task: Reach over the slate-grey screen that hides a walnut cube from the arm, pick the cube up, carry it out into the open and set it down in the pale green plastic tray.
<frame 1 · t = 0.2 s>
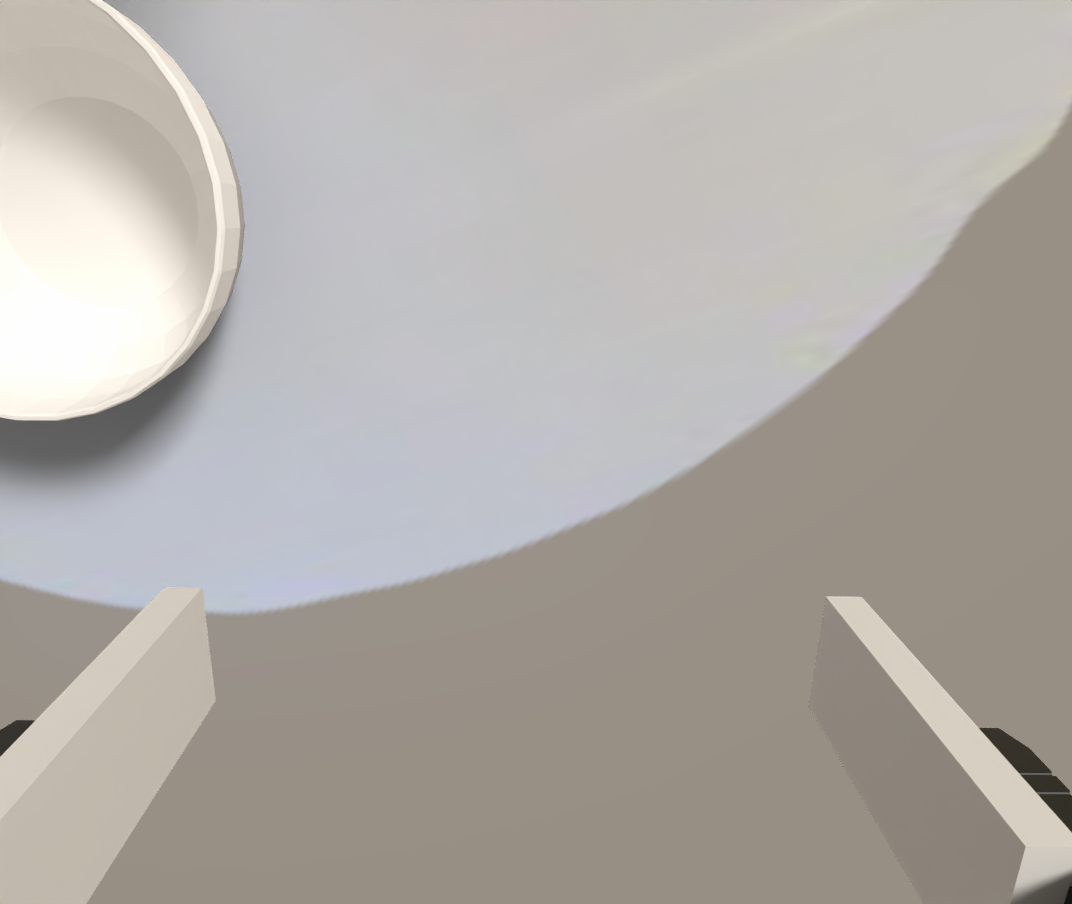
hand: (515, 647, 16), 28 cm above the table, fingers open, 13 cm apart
bowl: (107, 206, 40), on the table
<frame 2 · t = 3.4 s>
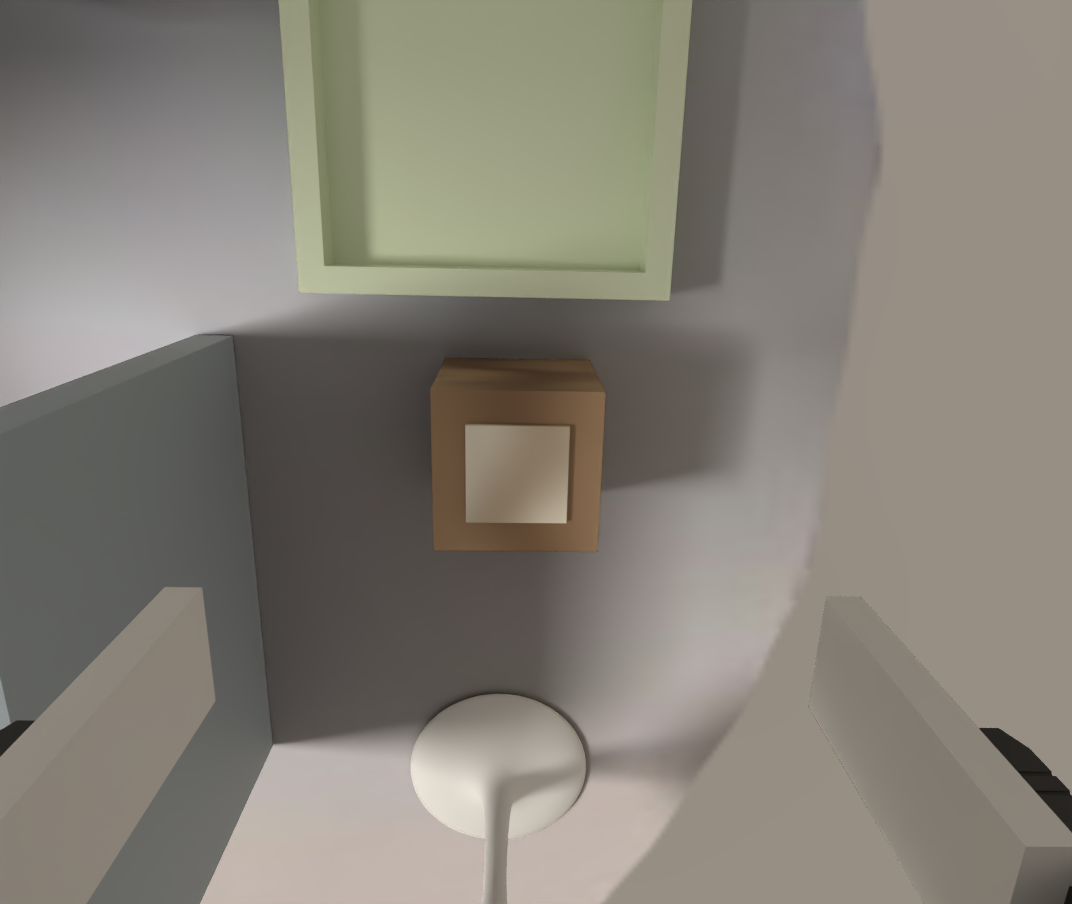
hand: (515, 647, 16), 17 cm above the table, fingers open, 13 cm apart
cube: (516, 427, 32), on the table
tray: (488, 102, 28), on the table
screen: (237, 558, 34), on the table
wineglass: (498, 763, 38), on the table
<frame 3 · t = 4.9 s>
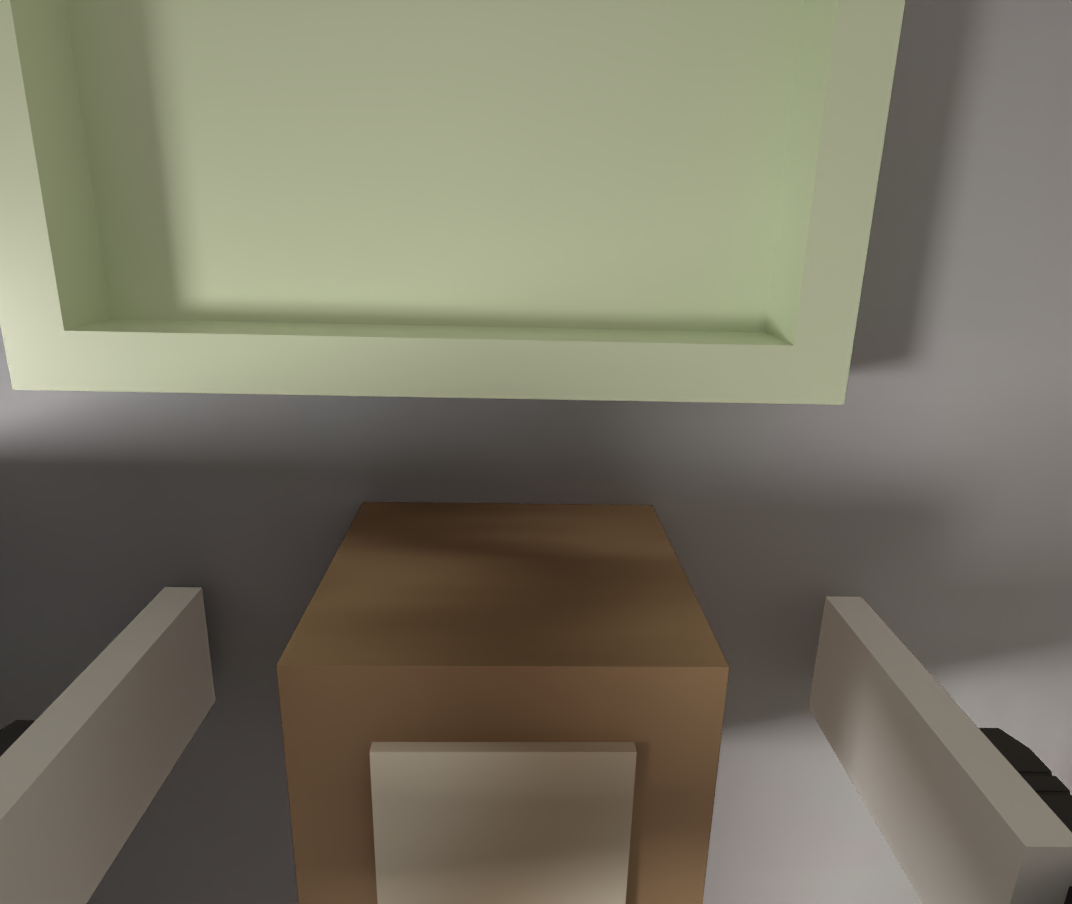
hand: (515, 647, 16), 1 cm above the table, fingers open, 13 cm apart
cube: (507, 628, 17), on the table
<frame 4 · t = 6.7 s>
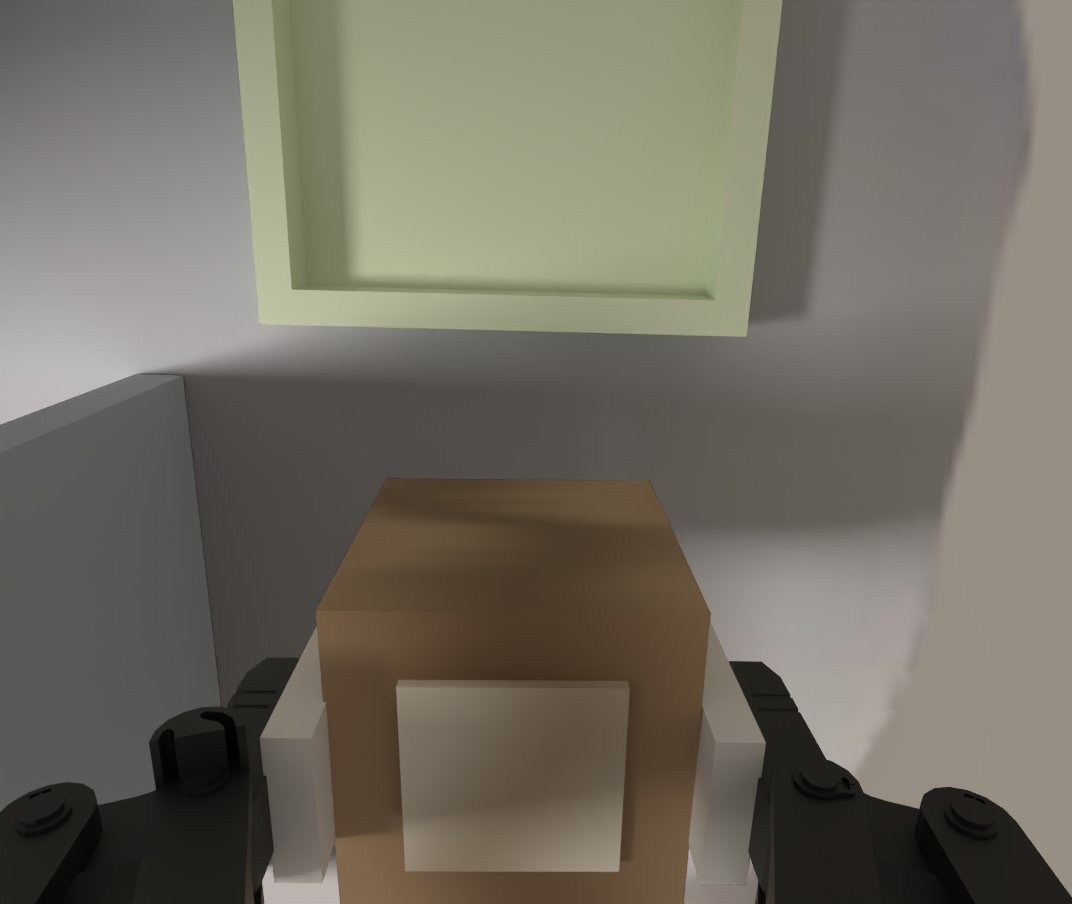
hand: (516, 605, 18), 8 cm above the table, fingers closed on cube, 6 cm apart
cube: (517, 597, 18), point 8 cm above the table, touching gripper
tray: (509, 75, 21), on the table
screen: (193, 647, 27), on the table
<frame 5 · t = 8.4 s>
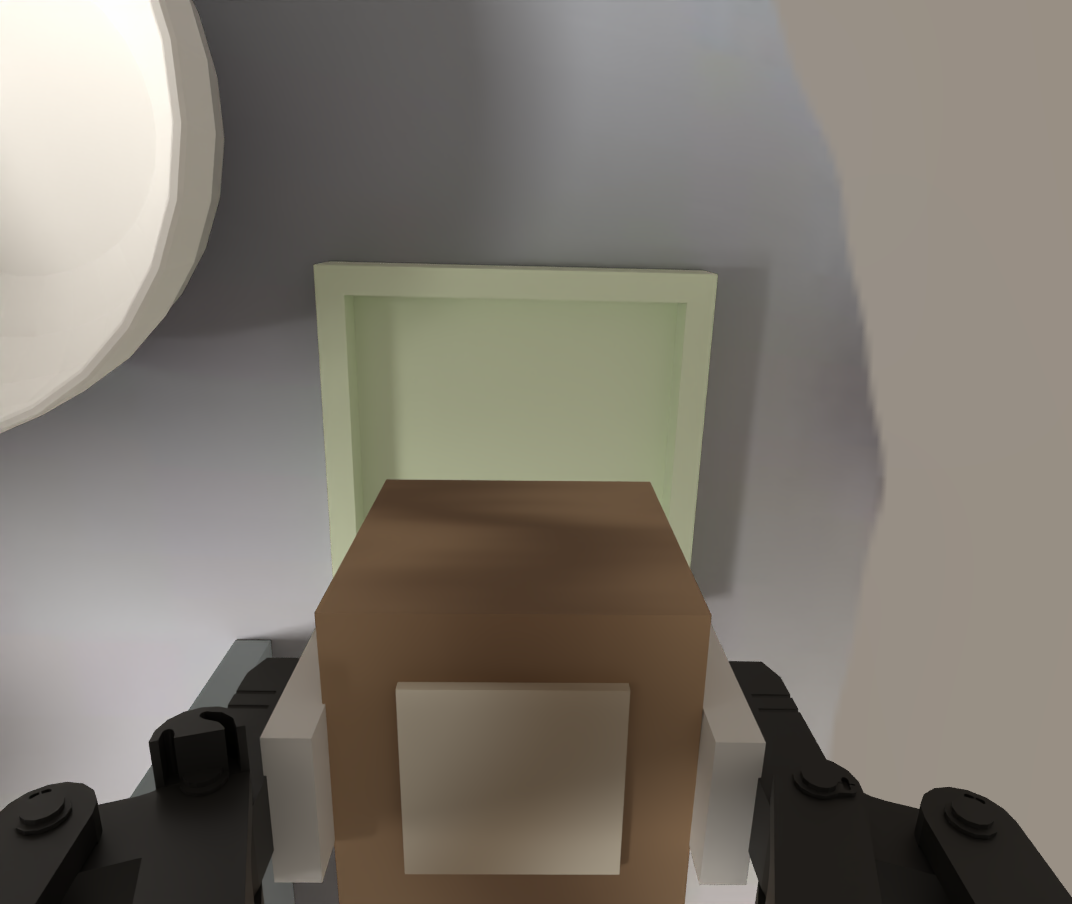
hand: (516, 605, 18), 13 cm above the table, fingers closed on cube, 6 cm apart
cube: (517, 598, 18), point 13 cm above the table, touching gripper
tray: (514, 445, 30), on the table
bowl: (18, 123, 26), on the table
screen: (271, 826, 35), on the table
when the fingers open (3 cm above the table, at t = 10.1 s): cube drops 2 cm, resting on tray.
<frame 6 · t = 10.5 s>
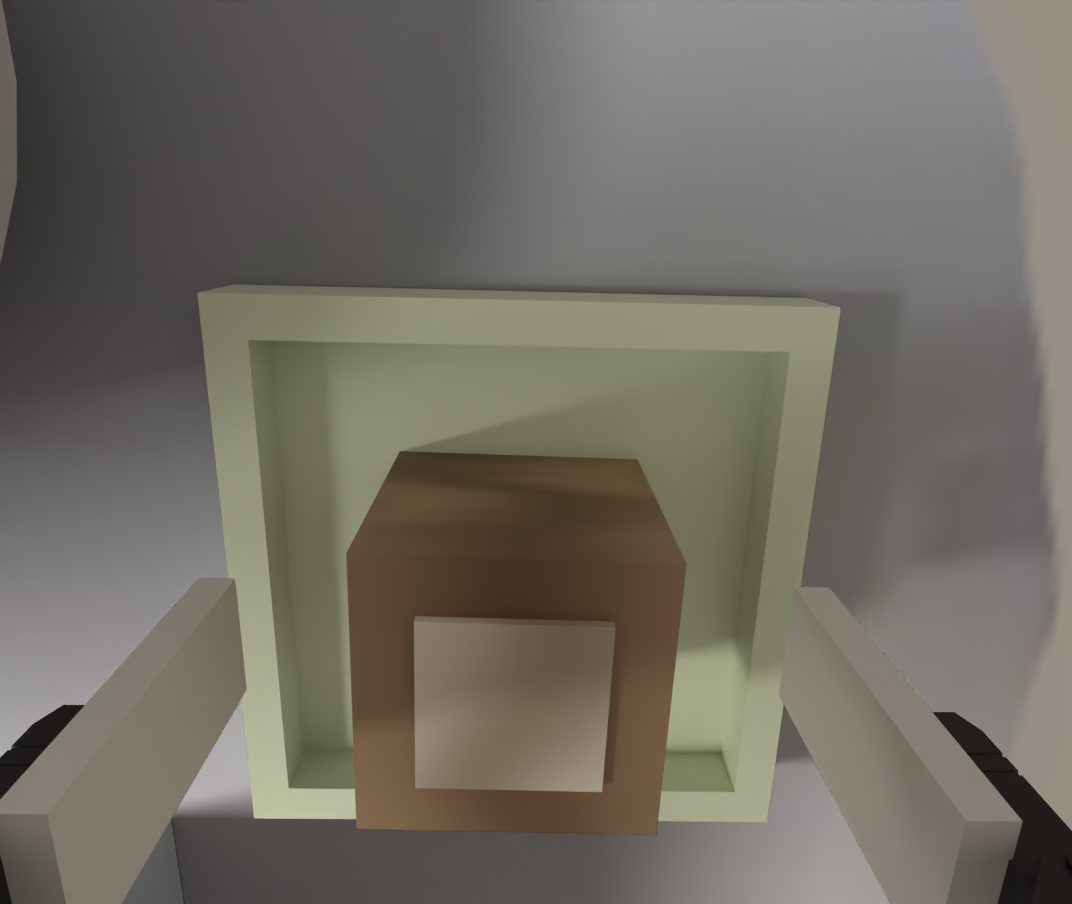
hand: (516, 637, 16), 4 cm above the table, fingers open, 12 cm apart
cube: (515, 563, 20), point 1 cm above the table, touching tray
tray: (517, 553, 20), on the table
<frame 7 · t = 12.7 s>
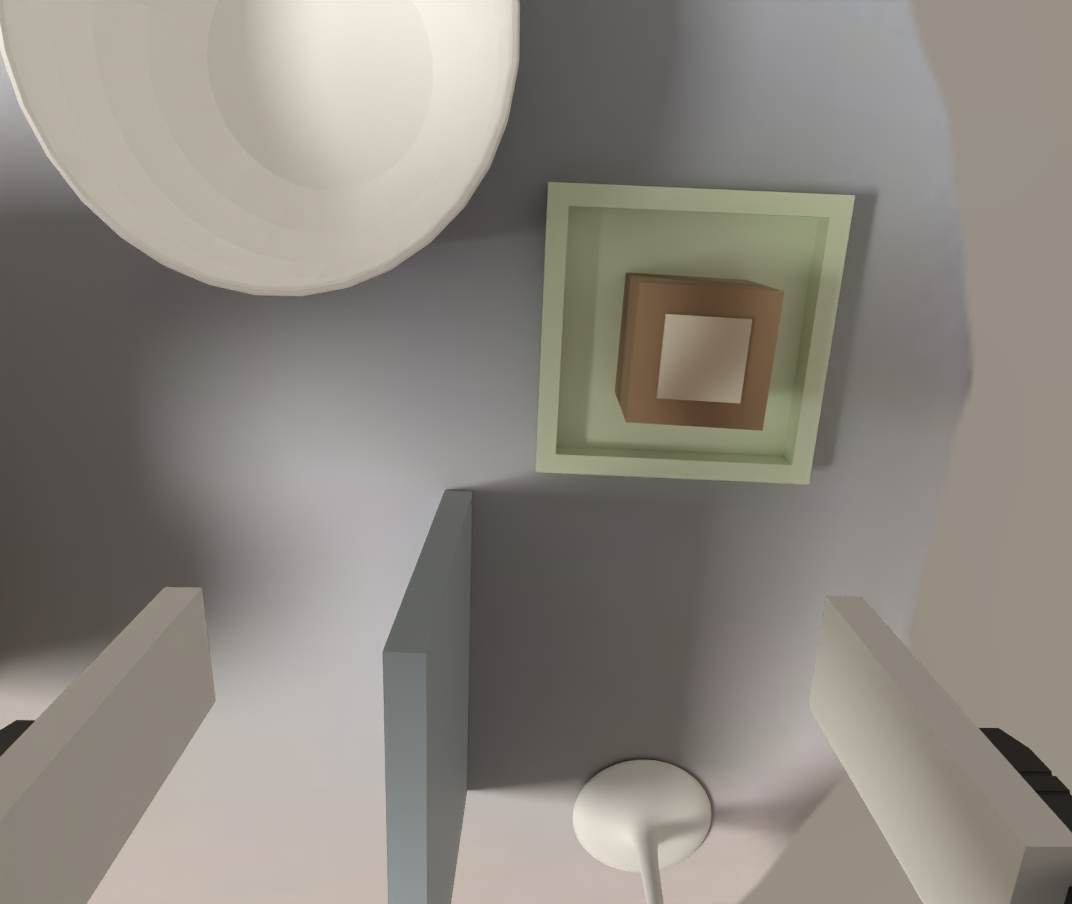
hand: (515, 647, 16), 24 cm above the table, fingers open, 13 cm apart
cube: (679, 337, 38), point 1 cm above the table, touching tray
tray: (678, 335, 38), on the table
bowl: (326, 73, 35), on the table
screen: (456, 650, 44), on the table
wineglass: (641, 812, 47), on the table
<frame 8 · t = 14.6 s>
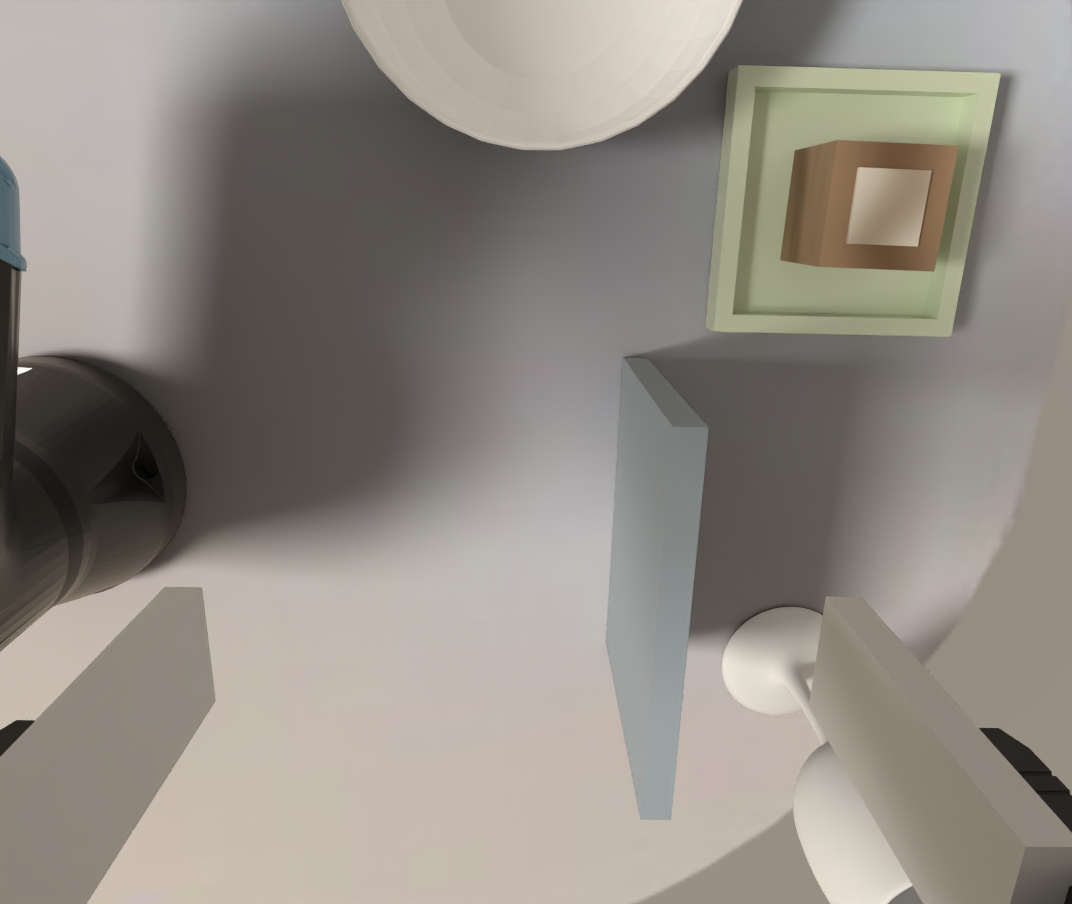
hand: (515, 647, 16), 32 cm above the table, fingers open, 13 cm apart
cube: (838, 208, 43), point 1 cm above the table, touching tray
tray: (835, 208, 44), on the table
screen: (625, 509, 49), on the table
wineglass: (781, 658, 53), on the table
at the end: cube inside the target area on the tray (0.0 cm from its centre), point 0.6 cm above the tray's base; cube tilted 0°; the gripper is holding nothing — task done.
